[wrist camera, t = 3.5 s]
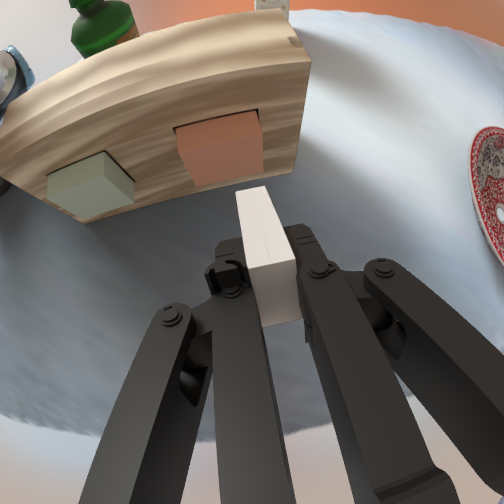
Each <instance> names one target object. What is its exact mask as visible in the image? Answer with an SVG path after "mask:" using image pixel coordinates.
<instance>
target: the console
mask: <svg viewBox="0 0 504 504" xmlns="http://www.w3.org/2000/svg"><path fill="white" fill-rule="evenodd" d="M310 67H311V59H310V58H309V56H308V54H307V52H306V50H305V49H304V47H303V45H302V43H301V42H300V40H299V38H298V36H297V35H296V33H295V31H294V30H293V28H292V26H291V25H290V23H289V22H288V20H287V18H286V17H285V15H284V14H283V12H282V11H281V9H280V8H276V9H264V10H255V11H247V12H241V13H233V14H227V15H221V16H216V17H211V18H206V19H201V20H197V21H192V22H188V23H184V24H180V25H177V26H173V27H169V28H166V29H163V30H159V31H156V32H153V33H150V34H147V35H144V36H141V37H138V38H135V39H132V40H129V41H127V42H124V43H121V44H119V45H116V46H114V47H111V48H109V49H107V50H104V51H102V52H100V53H97V54H95V55H93V56H91V57H89V58H86V59H84V60H82V61H80V62H78V63H76V64H74V65H72V66H70V67H68V68H66V69H65V70H63V71H61V72H59V73H57V74H55V75H54V76H52V77H50V78H48V79H47V80H45V81H43V82H42V83H40V84H38V85H37V86H35V87H33V88H32V89H30V90H29V91H27V92H26V93H24V94H22V95H21V96H19V97H18V98H17V99H15V100H14V101H12V102H11V103H9V104H8V107H7V110H6V113H5V116H4V119H3V122H2V125H1V129H0V176H1V177H2V178H4V179H6V180H7V181H9V182H11V183H12V184H14V185H16V186H17V187H19V188H21V189H22V190H24V191H26V192H28V193H29V194H31V195H33V196H35V197H36V198H38V199H40V200H42V201H43V202H45V203H47V204H49V205H51V206H52V207H54V208H56V209H58V210H60V211H61V212H63V213H65V214H67V215H69V216H71V217H72V218H74V219H76V220H78V221H80V222H82V223H84V224H87V223H90V222H93V221H97V220H100V219H103V218H106V217H110V216H113V215H116V214H120V213H123V212H126V211H130V210H133V209H137V208H140V207H144V206H148V205H151V204H155V203H159V202H163V201H166V200H170V199H174V198H178V197H182V196H186V195H190V194H194V193H198V192H202V191H207V190H211V189H215V188H220V187H224V186H229V185H233V184H238V183H242V182H247V181H252V180H257V179H262V178H267V177H272V176H277V175H283V174H288V173H293V170H294V164H295V158H296V153H297V147H298V141H299V135H300V129H301V123H302V117H303V111H304V105H305V99H306V93H307V86H308V80H309V74H310ZM250 111H256V113H257V117H258V120H259V123H260V127H261V130H262V134H263V169H264V172H262V173H256V174H252V175H247V176H242V177H237V178H233V179H228V180H224V181H219V182H215V183H210V184H206V185H202V186H198V187H196V185H195V183H194V181H193V179H192V178H191V176H190V174H189V172H188V170H187V168H186V166H185V165H184V163H183V161H182V159H181V157H180V155H179V154H178V147H177V137H176V128H179V127H183V126H187V125H191V124H195V123H199V122H203V121H207V120H211V119H216V118H220V117H225V116H230V115H234V114H239V113H245V112H250ZM102 152H105V153H106V154H107V155H108V156H109V157H110V158H111V159H112V160H113V161H114V162H115V163H116V164H117V165H118V166H119V167H120V168H121V170H122V171H123V172H124V173H125V174H126V175H127V176H128V177H129V178H130V179H131V180H132V181H133V182H134V200H135V203H134V204H130V205H127V206H124V207H120V208H117V209H114V210H110V211H107V212H104V213H101V214H98V215H95V216H91V217H88V218H85V219H81V218H80V217H78V216H76V215H74V214H72V213H71V212H69V211H67V210H65V209H64V208H62V207H60V206H58V205H57V204H55V203H53V202H51V201H50V200H48V199H46V197H47V184H48V175H50V174H52V173H54V172H56V171H59V170H61V169H63V168H65V167H68V166H70V165H72V164H75V163H77V162H79V161H82V160H84V159H87V158H89V157H92V156H94V155H97V154H99V153H102Z"/></svg>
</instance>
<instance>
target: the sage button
mask: <svg viewBox="0 0 504 504" xmlns="http://www.w3.org/2000/svg"><path fill="white" fill-rule="evenodd" d="M46 199H48V200H50V201H51V202H53V203H55V204H57V205H58V206H60V207H62V208H64V209H65V210H67V211H69V212H71V213H72V214H74V215H76V216H78V217H80V218H81V219H85V218H88V217H91V216H95V215H98V214H101V213H104V212H107V211H110V210H114V209H117V208H120V207H124V206H127V205H130V204H134V203H135V200H134V182H133V181H132V180H131V179H130V178H129V177H128V176H127V175H126V174H125V173H124V172H123V171H122V170H121V168H120V167H119V166H118V165H117V164H116V163H115V162H114V161H113V160H112V159H111V158H110V157H109V156H108V155H107V154H106V153H105V152H102V153H99V154H97V155H94V156H92V157H89V158H87V159H84V160H82V161H79V162H77V163H75V164H72V165H70V166H68V167H65V168H63V169H61V170H59V171H56V172H54V173H52V174H50V175H48V184H47V197H46Z"/></svg>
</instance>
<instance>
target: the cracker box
mask: <svg viewBox="0 0 504 504" xmlns="http://www.w3.org/2000/svg"><path fill="white" fill-rule="evenodd" d="M289 2H290V1H289V0H254V5H255V10H264V9H276V8H280V9H281V11H282V12H283V14H284V15H285V17H286V18H287V20H289Z"/></svg>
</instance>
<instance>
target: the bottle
mask: <svg viewBox="0 0 504 504" xmlns="http://www.w3.org/2000/svg"><path fill="white" fill-rule="evenodd" d="M69 3H70V7H71V8H76V9H77V10H78V12H79V13H80V16H79V17H78V19H77V20H76V22H75V23H74V25H73V28H72V36H71V42H72V43H73V45H74V46H75V47H76V49H77V50H78V51H79V52H80V54H81V55H82V56H83V57H84V59H86V58H89V57H91V56H93V55H95V54H97V53H100V52H102V51H104V50H107V49H109V48H111V47H114V46H116V45H119V44H121V43H124V42H127V41H129V40H132V39H135V38H138V37H140V35H139V32H138V29H137V26H136V23H135V20H134V18H133V15H132V12H131V9H130V6H129V4H127V3H125V2H122V1H114V0H110V1H104V0H69Z"/></svg>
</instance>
